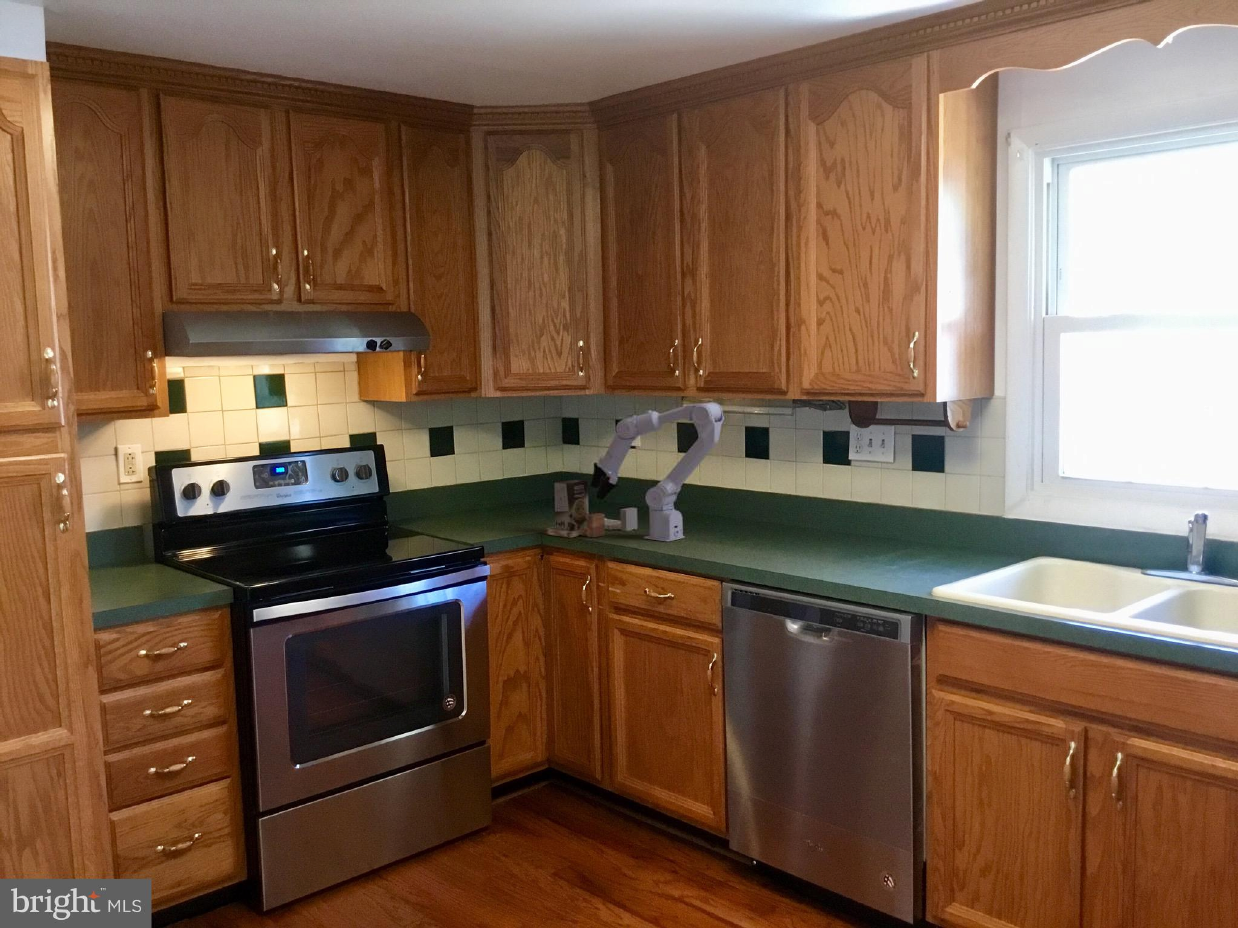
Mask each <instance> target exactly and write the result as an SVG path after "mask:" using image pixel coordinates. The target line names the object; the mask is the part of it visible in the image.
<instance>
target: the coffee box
mask: <svg viewBox="0 0 1238 928" xmlns="http://www.w3.org/2000/svg"><path fill="white" fill-rule="evenodd" d="M588 483H589V482H588V480H585V479H570V480H565V481H557V482H554V514H555V515H554V517H555V519H554V520H555V521H554V522H555V526H556V530H560V531H567V532H571V531H576V530H581V529H586V528H587V515H590V514H589V484H588ZM555 526H554V527H555Z"/></svg>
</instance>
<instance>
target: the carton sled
mask: <svg viewBox="0 0 1238 928" xmlns="http://www.w3.org/2000/svg"><path fill="white" fill-rule="evenodd" d="M604 518H605V513H600V512H598V513H591V514H589V515H587V528H586V529H581V530H576V531H571V532H567V531H560V530H556V526H551V527H546V528H545V535H551V536H556V537H557V536H558V537H563V538H570V539H571V538H574V537H580V536H579V535H581V536H585V535H586V537H588V538H597V537H602V536H605V535H606V530H605V519H604Z"/></svg>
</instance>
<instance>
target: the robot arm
mask: <svg viewBox="0 0 1238 928" xmlns="http://www.w3.org/2000/svg"><path fill="white" fill-rule="evenodd" d="M680 420H686V421H689V422H691V421H692V423H693V424H694V427H695V429H696V430H697V436H698V438H697V440H696V441H695V442H694V443H693V445H692V446H691V447H690V448H689V449H688V450H687V451H686V453H685V454H684V455H683V457H682V458H681V459H680V460H679V461H678V463H676V465H675V466H674V467H673V468H672V470H671V471H669V473H668V474H667V476H666V477H665V478H663V479H662V480H661V481H659V482H658V483H657V484H656V486H653V487H651V488H650V489H647V491H646V494H645V503H646V504H647V507H648V508H649V509H648V510H649V535H646V536H643V539H645V540H646V539H648V540H652V541H653V540H654V541H661V542H672V541H676V540H681V539H685V536H684V530H683V529H684V527H683V524H684V523H683V515H682V513H681V512H680V511H679V510H676V509H675V506H674V503H675V502H676V501H677V498H678V497H677V496H678V494H679V492H680V491H681V489H682V485H683V484H685V481H687V479H688V478H689V477H690V476H691V475H692V473H694V471H695V470H696V469H697V468H698V467H699V465H700V464H701V463H702V462H703V461H704V460H705V459H706V457H707V456H708V454H709V453H710V452H712V450H713V449H714V447H715V446H716V445H717V444H718V442H719V439H720V436H721V435H720V433H721V430H722V424H723V422H724V420H725V417H724V412H723V408H722V406H721V405H720V404H719V403H717V402H716V401H709V402H706V403H704V402H703V403H696V404H688V405H687V404H686V405H683V406H680V407H677V408H674V409H672V410H668V411H665V412H662V413H659V412H657V411H655V410H653V411H652V410H646V411H645V413H643V414H640V415H636V414H635V415H632V416H631V418H623V419H622V420H620V421H619V422H618V423H617V424H616V428H615V431H616V432H615V435H614V436H613V438H612V440H611V442H610V444H609V446H608V448H607V450H606V452H605V453H604V456H603V455H600V457H599V459H598V461H597V462H593V474H592V479H591V481H590V487H592V488H595V489H597V492H596V496H595V497H596V499H598V500H600V501H603V500H604V499H605V498H606V497H607V495H608V494H609V493H610V492H611V491H613V490H614V489H615V488H617V487H618V486H619V483H618V479H619V478H618V477H619V475H618V474H619V470H620V468H621V466H622V464H623V462H624V461H625V459H626V456H627V455H628V453H629V450H630V449H631V446H632V444H633V442H634V441H635V438H638V437H640V436H643V435H646V434H650V433H653V432H657V431H660V430H661V428H662V427H663V425H665V424H669V423H673V422H677V421H680Z"/></svg>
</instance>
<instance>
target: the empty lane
mask: <svg viewBox="0 0 1238 928" xmlns="http://www.w3.org/2000/svg"><path fill="white" fill-rule="evenodd" d="M619 512H620V514H619V515H620V520H615V519H608V518H605V517H604V519H605V529H607V530H606V531H612V529H614V530H619V529H621V530H620V531H623V532H629V531H634V530H633V529H635V530H638V528H639V527H638V508H637V507H626V508H623V509H619Z"/></svg>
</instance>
